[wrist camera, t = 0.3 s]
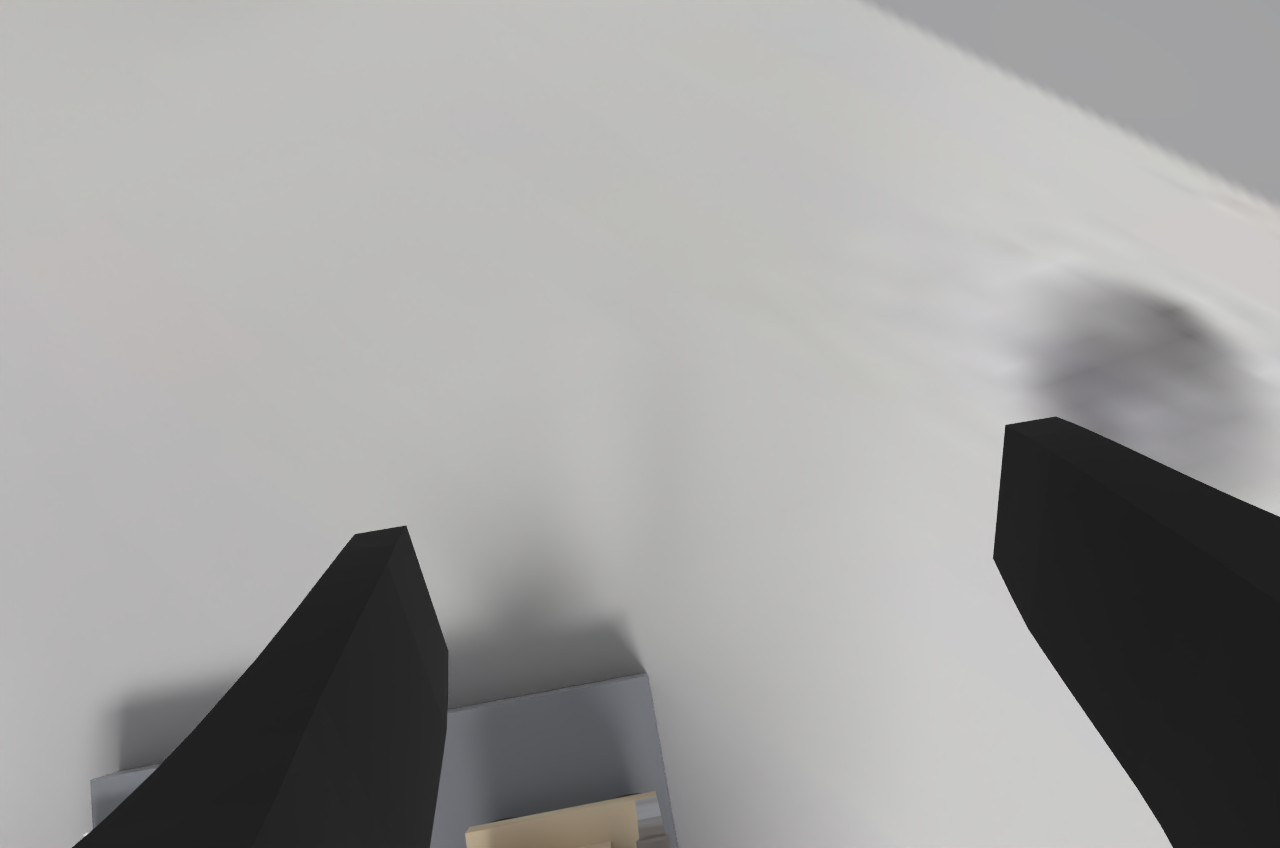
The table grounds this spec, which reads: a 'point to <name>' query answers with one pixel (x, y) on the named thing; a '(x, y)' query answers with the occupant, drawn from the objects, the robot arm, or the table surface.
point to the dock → (520, 758)
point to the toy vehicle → (580, 827)
